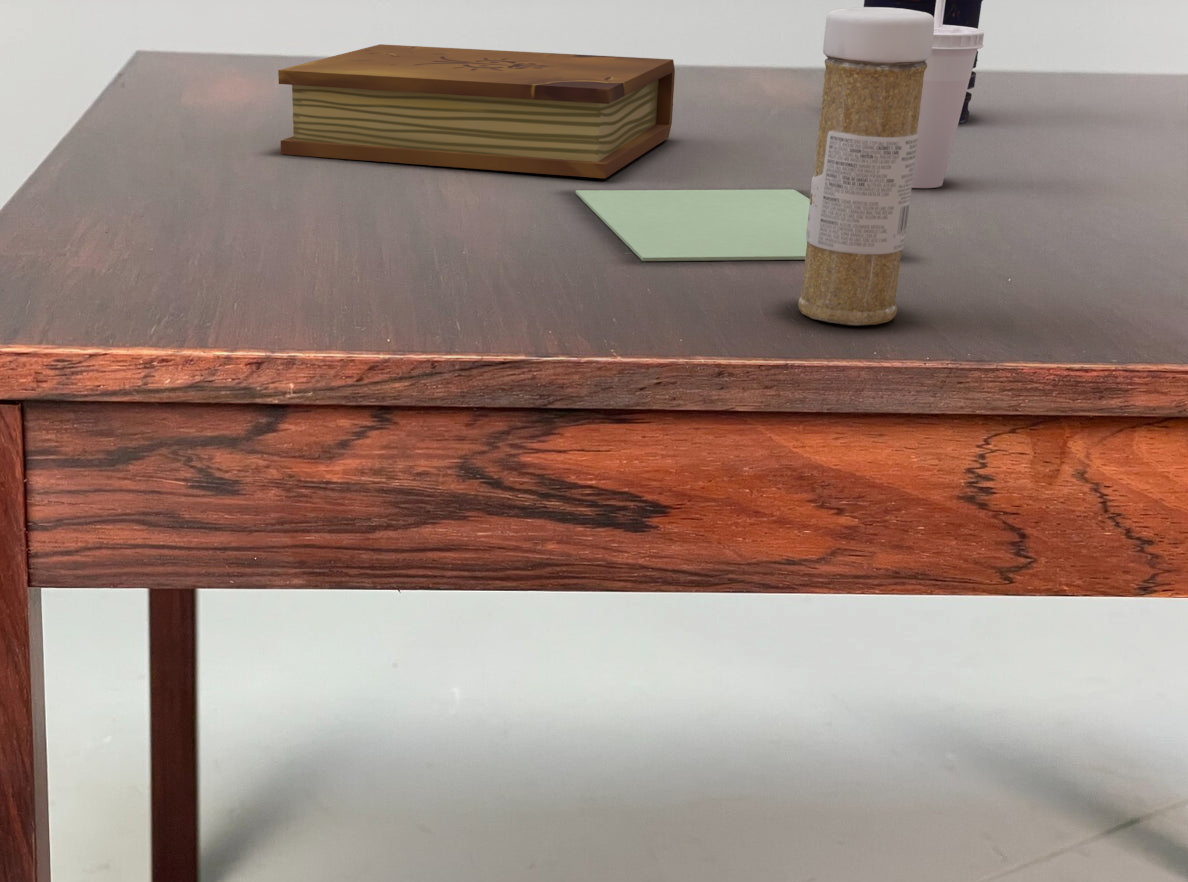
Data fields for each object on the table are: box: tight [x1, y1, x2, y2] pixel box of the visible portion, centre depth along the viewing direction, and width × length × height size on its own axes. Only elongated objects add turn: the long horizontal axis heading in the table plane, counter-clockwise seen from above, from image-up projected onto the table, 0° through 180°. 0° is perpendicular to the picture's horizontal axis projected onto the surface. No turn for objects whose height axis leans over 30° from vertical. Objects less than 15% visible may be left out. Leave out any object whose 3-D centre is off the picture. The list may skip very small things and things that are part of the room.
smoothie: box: [911, 0, 985, 189], centre depth 103 cm, size 6×6×14 cm
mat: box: [575, 189, 810, 262], centre depth 93 cm, size 18×14×1 cm
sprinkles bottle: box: [797, 6, 934, 327], centre depth 72 cm, size 5×5×13 cm
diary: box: [277, 43, 676, 179], centre depth 115 cm, size 23×19×6 cm
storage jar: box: [863, 0, 984, 124], centre depth 131 cm, size 10×10×15 cm
